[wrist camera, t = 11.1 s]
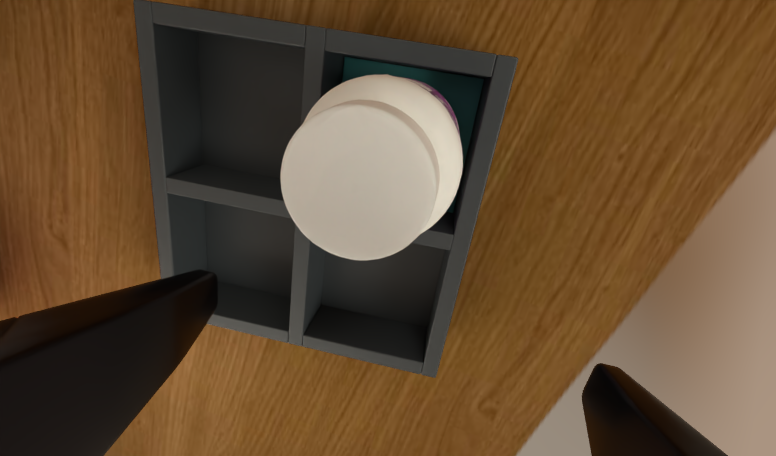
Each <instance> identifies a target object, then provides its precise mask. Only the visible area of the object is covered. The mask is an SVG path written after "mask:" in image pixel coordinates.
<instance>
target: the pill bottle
mask: <svg viewBox="0 0 776 456" xmlns="http://www.w3.org/2000/svg"><path fill="white" fill-rule="evenodd" d="M462 169H463V152H462V144H461V140H460V132H459V127H458V122H457V118H456V116H455V114H454V111H453V109H452V107H451V106H450V104H449V103H448V102H447V100H446V99H445V98H444V97H443V95H441V94H440V93H439V92H438V91H437V90H436V89H434V88H433V87H431V86H430V85H428V84H426V83H424V82H421V81H418V80H415V79H409V78H403V77H395V76H391V75H388V74H385V75H366V76H362V77H358V78H354V79H351V80H348V81H346V82H343V83H341V84H339V85H338V86H336V87H334V88H333V89H331V90H330V91H328V92H327V93H326V94H325V95H324V96H322V97H321V98H320V99H319V101H318V102H317V103H316V104H315V105H314V106H313V107H312V109H311V110H310V112H309V113H308V115H307V117H306V119H305V121H304V123H303V124H302V125H301V126H300V128H299V129H298V130H297V131H296V132H295V134H294V135H293V137H292V138H291V140H290V141H289V143H288V145H287V148H286V150H285V153H284V156H283V160H282V167H281V175H280V178H281V190H282V195H283V199H284V202H285V205H286V207H287V210H288V212H289V214H290V216H291V217H292V219H293V221H294V222H295V224H296V225H297V227H298V228H299V229H300V231H301V232H302V233H303V234H304V235H305V236H306V237H307V238H308V239H309V240H310V241H312V242H313V243H314V244H316V245H317V246H319V247H320V248H322V249H323V250H325V251H327V252H329V253H332V254H334V255H337V256H339V257H343V258H347V259H352V260H374V259H380V258H384V257H387V256H390V255H393V254H395V253H397V252H399V251H401V250H402V249H404V248H405V247H407V246H408V245H409V244H410V243H412V242H413V241H414V240H415V239H416V238H417V237H418V236H419V235H420V234H421V233H423V232H425V231H426V230H427V229H429V228H430V227H432V226H433V225H434V224H435V223H436V222H437V221H438V220H439V219H440V218H441V217H442V216H443V215H444V214H445V212H446V211H447V209H448V208H449V206H450V205H451V203H452V201H453V199H454V197H455V195H456V193H457V190H458V187H459V183H460V179H461V176H462Z"/></svg>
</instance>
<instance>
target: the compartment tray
mask: <svg viewBox="0 0 776 456" xmlns="http://www.w3.org/2000/svg"><path fill="white" fill-rule="evenodd" d="M133 2H134V12H135V22H136V32H137V43H138V53H139V63H140V73H141V83H142V93H143V103H144V113H145V123H146V133H147V143H148V153H149V163H150V173H151V183H152V193H153V204H154V214H155V224H156V234H157V244H158V254H159V264H160V274H161V279H163V278H167V277H171V276H175V275H178V274H182V273H186V272H190V271H194V270H198V269H202V270H206V271H210V272H214V273H215V274H216V275H217V278H218V305H217V308H216V310H215V312H214V313H213V315H212V316H211V318H210V319H209V321H208V322H207V324H210V325H214V326H218V327H223V328H227V329H231V330H235V331H239V332H244V333H248V334H252V335H256V336H261V337H265V338H269V339H273V340H277V341H282V342H286V343H290V344H294V345H298V346H302V345H303V347H307V348H312V349H316V350H320V351H324V352H328V353H333V354H337V355H341V356H345V357H349V358H354V359H358V360H362V361H366V362H371V363H375V364H379V365H383V366H387V367H392V368H396V369H400V370H404V371H409V372H413V373H417V374H420V373H421V374H422V375H425V376H430V377H434V378H435V377H436V375H437V371H438V367H439V363H440V359H441V355H442V352H443V348H444V344H445V340H446V336H447V332H448V328H449V325H450V321H451V317H452V313H453V309H454V305H455V301H456V298H457V294H458V290H459V286H460V282H461V278H462V275H463V271H464V267H465V263H466V259H467V255H468V251H469V248H470V244H471V240H472V236H473V232H474V228H475V224H476V221H477V217H478V213H479V209H480V205H481V201H482V197H483V194H484V190H485V186H486V182H487V178H488V174H489V170H490V167H491V163H492V159H493V155H494V151H495V147H496V144H497V140H498V136H499V132H500V128H501V124H502V120H503V117H504V113H505V109H506V105H507V101H508V97H509V93H510V90H511V86H512V82H513V78H514V74H515V70H516V66H517V63H518V58H517V57H512V56H505V55H496V54H492V53H486V52H479V51H473V50H466V49H460V48H453V47H447V46H440V45H434V44H427V43H421V42H414V41H408V40H401V39H395V38H388V37H382V36H375V35H369V34H362V33H356V32H349V31H343V30H336V29H330V28H323V27H317V26H310V25H303V24H297V23H290V22H284V21H277V20H271V19H264V18H258V17H251V16H245V15H238V14H232V13H225V12H219V11H212V10H206V9H199V8H193V7H186V6H180V5H173V4H167V3H160V2H152V1H147V0H134V1H133ZM385 74H388V75H391V76H395V77H403V78H409V79H415V80H418V81H421V82H424V83H426V84H428V85H430V86H431V87H433V88H434V89H436V90H437V91H438V92H439V93H440V94H441V95H443V97H444V98H445V99H446V100H447V102H448V103H449V104H450V106H451V107H452V109H453V111H454V114H455V116H456V118H457V122H458V127H459V132H460V140H461V144H462V152H463V169H462V176H461V179H460V183H459V187H458V190H457V193H456V195H455V197H454V199H453V201H452V203H451V205H450V206H449V208H448V209H447V211H446V212H445V214H444V215H443V216H442V217H441V218H440V219H439V220H438V221H437V222H436V223H435V224H434V225H433V226H432V227H430V228H429V229H427V230H426V231H425V232H423V233H421V234H420V235H419V236H418V237H417V238H416V239H415V240H414V241H413V242H412V243H410V244H409V245H408V246H407V247H405V248H404V249H402V250H401V251H399V252H397V253H395V254H393V255H390V256H387V257H384V258H380V259H374V260H352V259H347V258H343V257H339V256H337V255H334V254H332V253H329V252H327V251H325V250H323V249H322V248H320V247H319V246H317V245H316V244H314V243H313V242H312V241H310V240H309V239H308V238H307V237H306V236H305V235H304V234H303V233H302V232H301V231H300V229H299V228H298V227H297V225H296V224H295V222H294V221H293V219H292V217H291V216H290V214H289V212H288V210H287V207H286V205H285V202H284V199H283V195H282V190H281V178H280V175H281V167H282V160H283V156H284V153H285V150H286V148H287V145H288V143H289V141H290V140H291V138H292V137H293V135H294V134H295V132H296V131H297V130H298V129H299V128H300V126H301V125H302V124H303V123H304V121H305V119H306V117H307V115H308V113H309V112H310V110H311V109H312V107H313V106H314V105H315V104H316V103H317V102H318V101H319V99H320V98H321V97H322V96H324V95H325V94H326V93H327V92H328V91H330V90H331V89H333V88H334V87H336V86H338V85H339V84H341V83H343V82H346V81H348V80H351V79H354V78H358V77H362V76H366V75H385Z"/></svg>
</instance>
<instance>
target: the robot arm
mask: <svg viewBox="0 0 776 456" xmlns="http://www.w3.org/2000/svg"><path fill="white" fill-rule="evenodd" d="M217 305H218V278H217V275H216V274H215V273H214V272H210V271H206V270H202V269H198V270H194V271H190V272H186V273H182V274H178V275H175V276H171V277H167V278H163V279H159V280H155V281H152V282H148V283H144V284H140V285H136V286H132V287H129V288H125V289H121V290H117V291H113V292H110V293H106V294H102V295H98V296H94V297H90V298H87V299H83V300H79V301H75V302H71V303H67V304H64V305H60V306H56V307H52V308H48V309H45V310H41V311H37V312H33V313H29V314H25V315H22V316H19V317H18V318H15V317H14V318H10V319H6V320H2V321H0V456H104V455H105V453H106V452H107V451H108V450H109V448H110V447H111V446H112V445H113V444H114V442H115V441H116V440H117V439H118V438H119V436H120V435H121V434H122V433H123V432H124V430H125V429H126V428H127V427H128V426H129V424H130V423H131V422H132V421H133V419H134V418H135V417H136V416H137V415H138V413H139V412H140V411H141V410H142V409H143V407H144V406H145V405H146V404H147V403H148V401H149V400H150V399H151V398H152V397H153V395H154V394H155V393H156V392H157V390H158V389H159V388H160V387H161V386H162V384H163V383H164V382H165V381H166V380H167V378H168V377H169V376H170V375H171V374H172V372H173V371H174V370H175V369H176V367H177V366H178V365H179V364H180V362H181V361H182V359H183V358H184V357H185V355H186V354H187V352H188V351H189V349H190V348H191V346H192V345H193V343H194V342H195V340H196V339H197V337H198V336H199V334H200V333H201V331H202V330H203V328H204V327H205V325H206V324H207V322H208V321H209V319H210V318H211V316H212V315H213V313H214V312H215V310H216V308H217ZM582 403H583V409H584V415H585V420H586V426H587V432H588V437H589V443H590V448H591V454H592V456H728V455H726V454H725V453H724V452H723V451H721V450H720V449H719V448H718V447H716V446H715V445H714V444H713V443H711V442H710V441H709V440H708V439H707V438H705V437H704V436H703V435H701V434H700V433H699V432H698V431H697V430H695V429H694V428H693V427H692V426H690V425H689V424H688V423H687V422H685V421H684V420H683V419H682V418H681V417H679V416H678V415H677V414H676V413H674V412H673V411H672V410H671V409H669V408H668V407H667V406H666V405H664V404H663V403H662V402H661V401H659V400H658V399H657V398H656V397H655V396H653V395H652V394H651V393H650V392H648V391H647V390H646V389H645V388H643V387H642V386H641V385H640V384H638V383H637V382H636V381H635V380H633V379H632V378H631V377H630V376H629V375H627V374H626V373H625V372H623V371H622V370H621V369H620V368H618V367H615V366H610V365H606V364H602V363H600V364H597V365H596V366H595V367H594V369H593V371H592V373H591V375H590V377H589V379H588V381H587V383H586V385H585V387H584V390H583V393H582Z"/></svg>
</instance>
